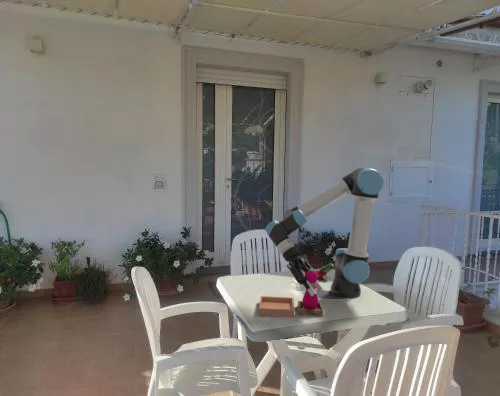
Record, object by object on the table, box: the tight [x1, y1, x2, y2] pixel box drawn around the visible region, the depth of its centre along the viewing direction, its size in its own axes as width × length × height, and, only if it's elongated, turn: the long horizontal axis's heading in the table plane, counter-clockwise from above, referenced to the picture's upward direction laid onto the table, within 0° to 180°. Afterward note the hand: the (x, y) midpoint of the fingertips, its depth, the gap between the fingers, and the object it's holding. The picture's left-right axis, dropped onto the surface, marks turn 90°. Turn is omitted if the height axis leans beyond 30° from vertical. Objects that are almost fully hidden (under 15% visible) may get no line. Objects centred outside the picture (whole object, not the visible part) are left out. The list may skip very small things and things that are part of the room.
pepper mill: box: [301, 267, 319, 310], centre depth 177 cm, size 7×7×20 cm
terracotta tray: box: [257, 295, 295, 318], centre depth 179 cm, size 16×16×3 cm
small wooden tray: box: [297, 300, 324, 317], centre depth 178 cm, size 11×11×2 cm
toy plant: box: [314, 262, 335, 280], centre depth 227 cm, size 8×10×12 cm
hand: (317, 292), depth 175 cm, fingers closed on pepper mill, 6 cm apart
